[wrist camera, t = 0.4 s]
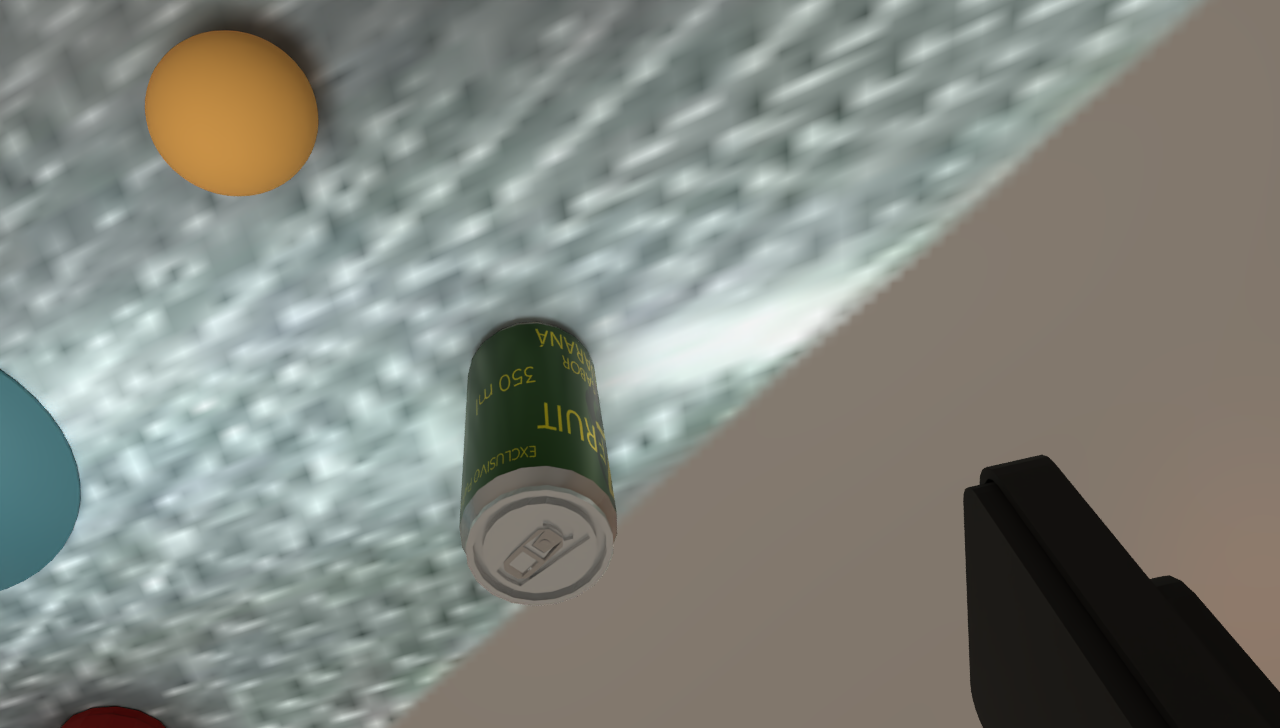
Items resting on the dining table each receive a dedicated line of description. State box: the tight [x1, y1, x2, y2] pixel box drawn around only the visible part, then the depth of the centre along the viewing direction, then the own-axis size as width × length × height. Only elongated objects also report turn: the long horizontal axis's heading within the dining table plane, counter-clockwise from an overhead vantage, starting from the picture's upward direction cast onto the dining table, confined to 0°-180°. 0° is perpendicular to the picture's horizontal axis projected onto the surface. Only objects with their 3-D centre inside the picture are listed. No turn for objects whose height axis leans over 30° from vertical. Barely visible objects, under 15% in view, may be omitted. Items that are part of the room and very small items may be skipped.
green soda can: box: [459, 322, 617, 606], centre depth 40 cm, size 5×5×12 cm
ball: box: [145, 30, 318, 196], centre depth 36 cm, size 6×6×6 cm
